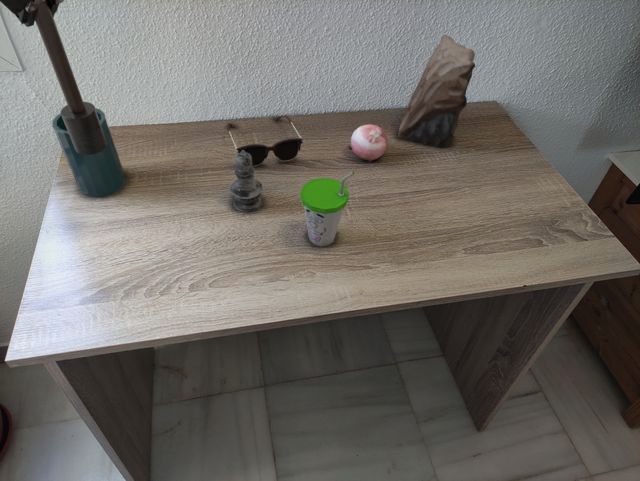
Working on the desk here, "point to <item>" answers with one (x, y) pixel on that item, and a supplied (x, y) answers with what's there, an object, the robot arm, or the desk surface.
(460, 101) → the brown rock
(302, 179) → the desk surface
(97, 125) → the brush
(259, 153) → the sunglasses
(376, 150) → the pink round piece
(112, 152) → the pencil holder
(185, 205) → the desk surface
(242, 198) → the chess piece
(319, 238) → the cup
